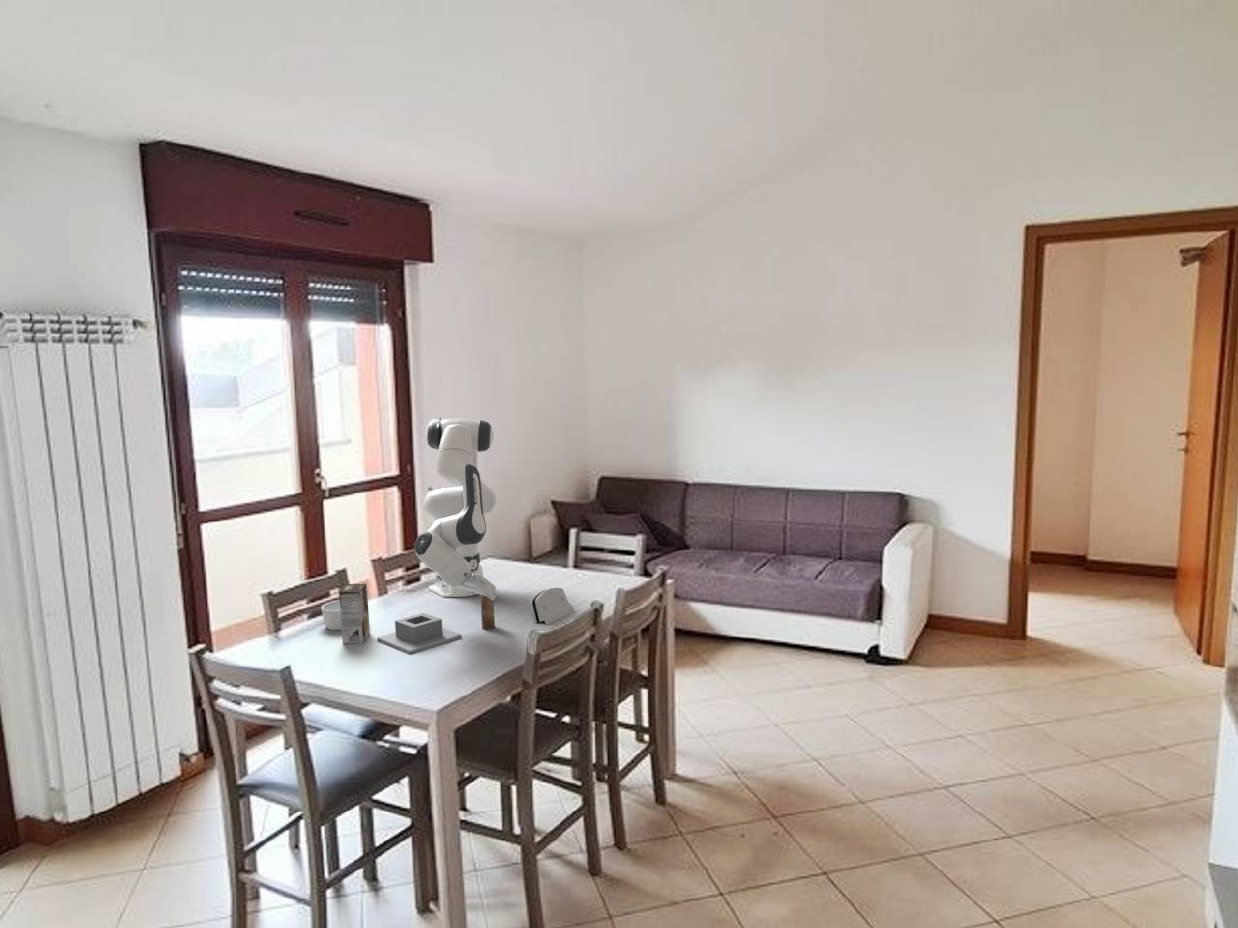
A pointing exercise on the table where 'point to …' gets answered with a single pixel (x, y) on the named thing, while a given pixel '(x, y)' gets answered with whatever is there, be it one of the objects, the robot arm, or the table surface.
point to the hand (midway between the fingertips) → (483, 595)
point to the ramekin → (332, 615)
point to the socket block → (418, 633)
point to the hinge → (550, 605)
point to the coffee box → (354, 613)
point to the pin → (487, 613)
